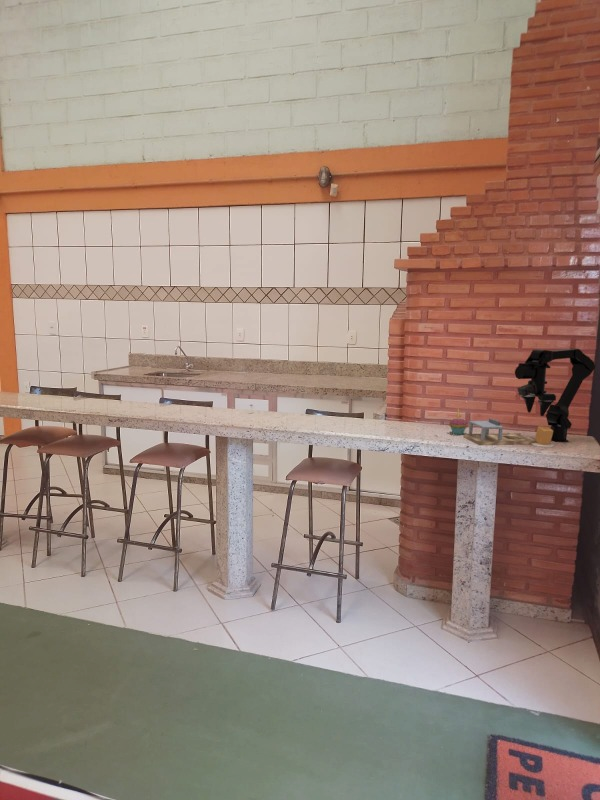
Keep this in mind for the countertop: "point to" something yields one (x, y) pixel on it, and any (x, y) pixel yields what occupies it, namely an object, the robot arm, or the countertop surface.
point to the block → (544, 435)
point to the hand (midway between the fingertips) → (535, 414)
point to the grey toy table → (486, 427)
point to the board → (506, 440)
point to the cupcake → (458, 425)
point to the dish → (542, 445)
